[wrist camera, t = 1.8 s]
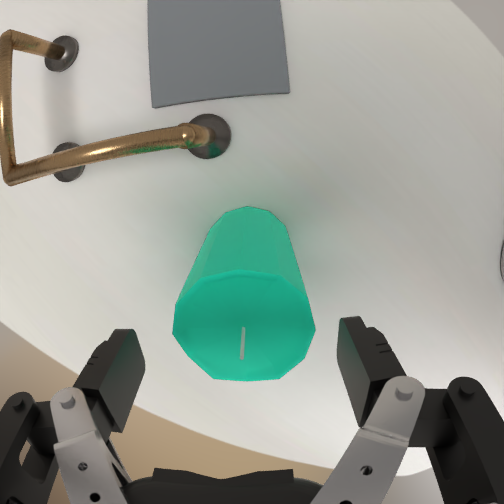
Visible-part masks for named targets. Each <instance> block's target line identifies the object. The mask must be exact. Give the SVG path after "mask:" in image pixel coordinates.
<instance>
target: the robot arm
mask: <svg viewBox="0 0 504 504" xmlns="http://www.w3.org/2000/svg"><path fill="white" fill-rule="evenodd" d="M501 272H502V277H503V280H504V246H503V251H502V258H501ZM337 361H338V365H339V368H340V371H341V374H342V377H343V380H344V383H345V386H346V389H347V392H348V395H349V398H350V401H351V404H352V407H353V411H354V414H355V417H356V420H357V423H358V426H359V427H360V429H359V430H358V431H357V433H356V435H355V436H354V438H353V440H352V442H351V443H350V445H349V447H348V448H347V450H346V451H345V453H344V455H343V456H342V458H341V459H340V461H339V463H338V464H337V466H336V467H335V469H334V470H333V472H332V473H331V475H330V476H329V478H328V479H327V481H326V482H325V484H324V485H321V484H319V483H317V482H313V481H310V480H306V479H302V478H294V477H293V469H287V470H275V471H257V472H254V473H249V474H246V475H241V476H237V477H232V478H227V479H216V478H212V477H208V476H204V475H200V474H196V473H193V472H189V471H183V470H171V469H161V468H154V472H153V476H152V477H146V478H142V479H138V480H135V481H132V480H131V478H130V477H129V475H128V473H127V471H126V469H125V467H124V466H123V464H122V462H121V460H120V458H119V456H118V454H117V451H116V449H115V447H114V445H113V443H112V441H111V439H110V438H109V436H110V434H111V431H112V432H119V433H122V432H123V429H124V427H125V424H126V421H127V418H128V416H129V413H130V410H131V407H132V405H133V402H134V399H135V397H136V394H137V391H138V389H139V386H140V383H141V381H142V378H143V376H144V373H145V360H144V356H143V353H142V350H141V347H140V344H139V341H138V338H137V335H136V332H135V331H134V330H133V329H115V330H114V331H113V333H112V335H111V336H110V338H109V340H108V341H104V342H103V343H101V344H100V345H99V346H98V347H97V348H96V349H95V350H94V352H93V354H92V355H91V358H89V360H88V362H87V365H85V367H84V368H83V370H82V372H81V373H80V375H79V377H78V378H77V380H76V382H75V384H74V385H73V387H68V388H64V389H62V390H60V391H58V392H57V393H56V394H55V395H54V396H53V397H52V399H51V401H45V402H35V401H34V399H33V397H32V396H31V395H30V394H29V393H27V392H19V393H16V394H14V395H12V396H11V397H10V398H9V399H8V400H7V401H6V403H5V404H4V406H3V408H2V409H1V411H0V504H47V502H48V498H49V495H50V492H51V489H52V486H53V483H54V481H55V477H56V475H57V472H58V469H60V472H61V476H62V479H63V482H64V485H65V488H66V491H67V494H68V497H69V500H70V503H71V504H381V503H382V501H383V499H384V498H385V495H386V494H387V492H388V489H389V488H390V485H391V483H392V481H393V479H394V477H395V475H396V473H397V471H398V468H399V466H400V464H401V462H402V459H403V457H404V455H405V452H406V450H407V447H426V450H427V453H428V456H429V458H430V461H431V464H432V467H433V470H434V473H435V476H436V479H437V482H438V485H439V488H440V491H441V494H442V498H443V501H444V504H504V421H503V419H502V417H501V416H500V414H499V412H498V411H497V409H496V407H495V406H494V404H493V402H492V401H491V399H490V397H489V396H488V394H487V393H486V391H485V389H484V388H483V386H482V385H481V384H480V383H479V382H478V381H477V380H475V379H473V378H470V377H458V378H456V379H454V380H452V381H451V383H450V384H449V386H448V388H447V389H427V388H424V386H423V385H422V383H421V382H419V381H418V380H417V379H415V378H412V377H409V376H407V375H406V373H405V372H404V370H403V368H402V366H401V364H400V363H399V361H398V359H397V357H396V356H395V354H394V352H393V351H392V349H391V347H390V345H389V344H388V342H387V340H386V338H385V337H384V335H383V334H382V333H381V332H380V331H378V330H377V329H376V328H374V327H369V328H366V326H365V324H364V322H363V320H362V319H361V317H360V316H355V317H347V318H341V319H340V322H339V332H338V343H337ZM362 427H363V428H362ZM26 440H27V441H28V442H29V443H30V445H31V446H30V449H29V451H28V453H27V455H26V458H25V460H24V462H23V465H22V466H21V464H20V462H19V455H20V452H21V450H22V448H23V446H24V444H25V442H26Z"/></svg>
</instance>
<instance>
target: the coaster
mask: <svg viewBox="0 0 504 504" xmlns="http://www.w3.org/2000/svg"><path fill="white" fill-rule="evenodd" d="M148 49H149V70H150V86H151V100H152V108H160V107H165V106H171V105H177V104H183V103H190V102H197V101H204V100H212V99H220V98H230V97H240V96H252V95H266V94H287V93H290V88H289V78H288V67H287V58H286V48H285V39H284V30H283V22H282V14H281V6H280V0H148Z"/></svg>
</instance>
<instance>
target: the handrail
mask: <svg viewBox="0 0 504 504" xmlns="http://www.w3.org/2000/svg"><path fill="white" fill-rule="evenodd" d="M13 49H14V50H18V51H23V52H27V53H31V54H35V55H39V56H43V57H45V65H46V67H47V68H48V69H49V70H51V71H55V72H61V71H64V70H66V69H67V68H69V67H70V66H71V65H72V63H73V62H74V60H75V59H76V57H77V54H78V43H77V41H76V40H75V39H74V38H72V37H70V36H61V37H58V38H57V39H55V40H54V41H53V42H49V41H46V40H43V39H40V38H37V37H34V36H31V35H28V34H25V33H21V32H18V31H15V30H11V29H10V30H7V31H6V32H4V33H3V34H2V35H1V37H0V158H1V167H2V174H3V180H4V182H5V183H6V184H7V185H8V186H14V185H17V184H20V183H23V182H27V181H30V180H33V179H37V178H40V177H44V176H47V175H51V174H54V176H55V177H56V178H57V179H58V180H59V181H62V182H70V181H73V180H75V179H77V178H78V177H79V176H80V175H81V174H82V172H83V170H84V166H85V165H86V164H91V163H95V162H100V161H105V160H110V159H115V158H120V157H125V156H130V155H136V154H141V153H147V152H153V151H160V150H166V149H173V148H182V149H188V150H189V151H190V152H191V153H192V154H193V155H195V156H196V157H199V158H202V159H211V158H215V157H217V156H219V155H221V154H222V153H223V152H224V151H225V150H226V149H227V148H228V146H229V144H230V140H231V131H230V128H229V126H228V124H227V123H226V122H225V121H224V120H223V119H222V118H221V117H219V116H217V115H214V114H202V115H199V116H197V117H195V118H194V119H192V120H191V121H190V122H189V123H182V124H179V125H178V126H175V127H168V128H162V129H156V130H151V131H145V132H140V133H135V134H130V135H125V136H120V137H116V138H111V139H107V140H103V141H98V142H94V143H90V144H86V145H82V146H79V145H77V144H76V143H72V142H69V143H63V144H60V145H59V146H58V147H57V148H56V149H55V150H54V152H53V154H50V155H47V156H43V157H40V158H37V159H34V160H31V161H28V162H25V163H21V164H17V165H16V157H15V147H14V137H13V123H12V96H11V81H12V54H13Z"/></svg>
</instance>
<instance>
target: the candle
mask: <svg viewBox="0 0 504 504" xmlns="http://www.w3.org/2000/svg"><path fill="white" fill-rule="evenodd" d="M315 331H316V329H315V325H314V321H313V317H312V313H311V309H310V305H309V301H308V297H307V294H306V290H305V287H304V284H303V281H302V277H301V274H300V271H299V268H298V265H297V261H296V258H295V255H294V252H293V249H292V245H291V242H290V239H289V236H288V233H287V230H286V227H285V225H283V224H282V223H281V222H280V221H279V220H278V219H277V218H276V217H275V216H274V215H273V214H272V213H271V212H270V211H266V210H262V209H258V208H253V207H249V206H246V207H242V208H239V209H236V210H232V211H229V212H226V213H225V214H224V215H223V216H222V217H221V218H220V219H219V220H218V221H217V222H216V223H215V224H214V225H213V227H212V228H211V229H210V231H209V233H208V235H207V237H206V239H205V241H204V244H203V246H202V248H201V250H200V252H199V254H198V256H197V258H196V261H195V263H194V265H193V267H192V269H191V271H190V274H189V276H188V278H187V280H186V282H185V285H184V287H183V289H182V291H181V293H180V296H179V298H178V300H177V302H176V305H175V314H174V323H173V332H172V334H173V335H174V337H175V338H176V340H177V341H178V343H179V344H180V346H181V347H182V348H183V350H184V351H185V353H186V354H187V355H188V357H189V358H191V359H192V360H193V361H194V362H195V363H196V364H197V365H198V366H199V367H201V368H202V369H203V370H204V371H205V372H206V373H207V374H208V375H210V376H211V377H212V378H213V379H221V380H234V381H260V380H274V379H280V378H281V377H282V376H284V375H285V374H286V373H287V372H289V371H290V370H291V369H292V368H294V367H295V366H296V365H297V364H298V363H300V362H301V361H302V360H303V359H304V358H305V356H306V353H307V351H308V348H309V346H310V343H311V341H312V338H313V336H314V333H315Z"/></svg>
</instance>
